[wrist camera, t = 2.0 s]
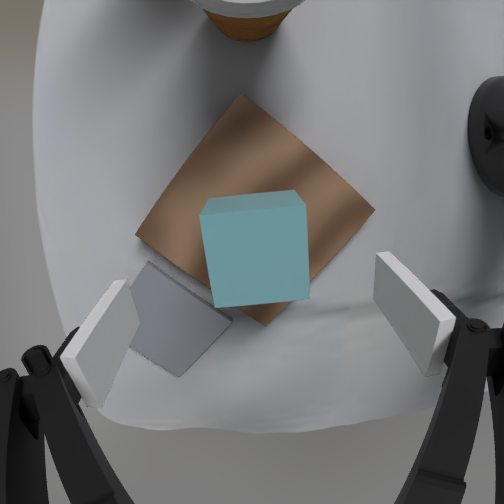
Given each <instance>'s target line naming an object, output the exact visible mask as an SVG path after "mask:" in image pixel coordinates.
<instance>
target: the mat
mask: <svg viewBox="0 0 504 504" xmlns="http://www.w3.org/2000/svg"><path fill="white" fill-rule="evenodd" d="M130 291H131V294H132V298H133V301H134V304H135V308H136V311H137V314H138V317H139V320H140V324H139V326H138V328H137V331H136V333H135V335H134V337H133V339H132V341H131V343H130V347H131V348H133V349H134V350H136V351H137V352H139V353H140V354H142V355H144V356H145V357H147V358H148V359H150V360H151V361H153V362H155V363H156V364H158V365H160V366H161V367H163V368H164V369H166V370H168V371H170V372H171V373H173V374H175V375H176V376H178V377H180V376H181V375H182V374H183V373H184V372H185V371H186V370H187V369H188V368H189V367H190V366H191V364H192V363H193V362H194V361H195V360H196V359H197V358H198V357H199V356H200V355H201V354H202V353H203V352H204V351H205V350H206V349H207V348H208V347H209V346H210V345H211V344H212V343H213V342H214V341H215V340H216V339H217V338H218V337H219V336H220V335H221V334H222V332H223V331H224V330H225V329H226V328H227V327H228V326H229V325H230V324H231V323H232V319H231V318H230V317H228V316H227V315H225V314H224V313H222V312H221V311H219V310H218V309H216V308H215V307H213V306H212V305H210V304H209V303H207V302H206V301H204V300H203V299H201V298H200V297H198V296H197V295H196V294H194V293H193V292H191V291H190V290H188V289H187V288H185V287H184V286H183V285H181V284H180V283H178V282H177V281H176V280H174V279H173V278H171V277H170V276H168V275H167V274H166V273H164V272H163V271H162V270H160V269H159V268H157V267H156V266H155V265H153V264H152V263H150V262H149V261H148V262H147V263H146V265H145V266H144V268H143V269H142V271H141V272H140V274H139V275H138V277H137V278H136V280H135V281H134V283H133V284H132V286H131V287H130Z"/></svg>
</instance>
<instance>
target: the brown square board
mask: <svg viewBox="0 0 504 504" xmlns="http://www.w3.org/2000/svg"><path fill="white" fill-rule="evenodd" d="M286 190H295V191H296V192H297V194H298V195H299V196H300V198H301V199H302V200H303V202H304V203H305V204H306V212H307V232H308V255H309V282H310V281H311V280H312V279H313V278H314V277H315V276H316V275H317V274H318V273H319V271H320V270H321V269H322V268H323V267H324V266H325V265H326V264H327V263H328V262H329V261H330V260H331V259H332V258H333V256H334V255H335V254H336V253H337V252H338V251H339V250H340V249H341V248H342V247H343V246H344V245H345V243H346V242H347V241H348V240H349V239H350V238H351V237H352V236H353V235H354V233H355V232H356V231H357V230H358V229H359V228H360V227H361V226H362V224H363V223H364V222H365V221H366V220H367V219H368V218H369V217H370V215H371V214H372V213H373V212H374V211H375V209H374V208H373V207H372V206H371V205H370V204H369V203H368V202H367V201H366V200H365V199H364V198H363V197H362V196H361V195H360V194H359V193H358V192H357V191H356V190H355V189H353V188H352V187H351V186H350V185H349V184H348V183H347V182H346V181H345V180H344V179H343V178H342V177H341V176H340V175H339V174H338V173H336V172H335V171H334V170H333V169H332V168H331V167H330V166H329V165H328V164H327V163H325V162H324V161H323V160H322V159H321V158H320V157H319V156H318V155H317V154H315V153H314V152H313V151H312V150H311V149H310V148H309V147H307V146H306V145H305V144H304V143H303V142H302V141H300V140H299V139H298V138H297V137H296V136H294V135H293V134H292V133H291V132H290V131H288V130H287V129H286V128H285V127H284V126H282V125H281V124H280V123H279V122H277V121H276V120H275V119H274V118H273V117H271V116H270V115H269V114H267V113H266V112H265V111H264V110H262V109H261V108H260V107H259V106H257V105H256V104H255V103H253V102H252V101H251V100H249V99H248V98H247V97H245V96H244V95H243V94H241V93H240V95H239V96H238V97H237V98H236V99H235V100H234V102H233V103H232V104H231V105H230V106H229V108H228V109H227V110H226V111H225V112H224V114H223V115H222V116H221V117H220V118H219V120H218V121H217V122H216V123H215V125H214V126H213V127H212V128H211V130H210V131H209V132H208V133H207V135H206V136H205V137H204V138H203V140H202V141H201V142H200V144H199V145H198V146H197V147H196V149H195V150H194V151H193V153H192V154H191V155H190V157H189V158H188V159H187V161H186V162H185V163H184V165H183V166H182V167H181V169H180V170H179V171H178V173H177V174H176V175H175V177H174V178H173V180H172V181H171V182H170V184H169V185H168V186H167V188H166V189H165V191H164V192H163V194H162V195H161V196H160V198H159V199H158V201H157V202H156V204H155V205H154V207H153V208H152V209H151V211H150V212H149V214H148V215H147V217H146V218H145V220H144V221H143V223H142V224H141V226H140V227H139V229H138V230H137V232H136V233H135V235H136V236H137V237H139V238H140V239H141V240H143V241H144V242H145V243H147V244H148V245H149V246H151V247H152V248H153V249H155V250H156V251H157V252H159V253H160V254H162V255H163V256H164V257H166V258H167V259H168V260H170V261H171V262H173V263H174V264H175V265H177V266H178V267H179V268H181V269H182V270H184V271H185V272H186V273H188V274H189V275H191V276H192V277H193V278H195V279H196V280H198V281H199V282H201V283H202V284H203V285H205V286H206V287H208V288H209V289H211V285H210V279H209V274H208V268H207V262H206V256H205V250H204V244H203V238H202V231H201V225H200V218H199V215H200V213H201V212H202V210H203V208H204V206H205V205H206V203H207V201H208V199H209V198H217V197H226V196H235V195H244V194H254V193H264V192H275V191H286ZM290 302H291V301H286V302H276V303H266V304H256V305H245V306H235V307H237V308H238V309H240V310H241V311H243V312H244V313H246V314H247V315H249V316H250V317H252V318H253V319H255V320H256V321H258V322H259V323H261V324H262V325H264V326H265V327H266V326H267V325H268V324H269V323H270V322H271V321H272V320H273V319H274V318H275V317H276V316H277V315H278V314H279V313H280V312H281V311H282V310H283V309H284V308H285V307H286V306H287V305H288V304H289V303H290Z"/></svg>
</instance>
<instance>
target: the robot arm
mask: <svg viewBox="0 0 504 504" xmlns="http://www.w3.org/2000/svg"><path fill="white" fill-rule="evenodd" d="M469 142H470V148H471V153H472V157H473V160H474V163H475V166H476V168H477V171H478V173H479V175H480V176H481V178H482V180H483V181H484V183H485V184H486V185H487V186H488V187H489V188H490V189H491V190H492V191H493V192H495V193H496V194H498V195H501V196H503V197H504V76H497V77H492V78H489V79H487V80H486V81H485V82H483V83H482V84H481V85H480V87H479V88H478V90H477V91H476V93H475V95H474V98H473V100H472V104H471V108H470V113H469ZM373 299H374V301H375V302H376V304H377V305H378V307H379V308H380V309H381V311H382V312H383V314H384V315H385V317H386V318H387V320H388V321H389V323H390V324H391V326H392V327H393V329H394V330H395V332H396V333H397V335H398V336H399V338H400V339H401V341H402V342H403V344H404V345H405V347H406V348H407V350H408V351H409V353H410V354H411V356H412V357H413V359H414V361H415V362H416V364H417V365H418V367H419V368H420V370H421V372H422V373H423V375H424V376H425V377H428V376H431V375H435V374H438V373H440V372H441V369H442V366H443V363H444V362H445V364H446V365H447V366H448V370H447V373H446V376H445V378H444V381H443V384H442V390H441V393H440V396H439V399H438V402H437V405H436V409H435V411H434V414H433V417H432V420H431V423H430V425H429V428H428V431H427V433H426V436H425V439H424V441H423V443H422V446H421V448H420V451H419V453H418V455H417V458H416V460H415V462H414V464H413V467H412V469H411V471H410V473H409V475H408V477H407V480H406V482H405V484H404V486H403V488H402V490H401V492H400V494H399V495H398V497H397V499H396V501H395V503H394V504H461V501H462V499H463V496H464V493H465V489H466V482H464V476H465V472H466V469H467V466H468V462H469V459H470V455H471V451H472V448H473V443H474V440H475V435H476V431H477V427H478V421H479V417H480V411H481V407H482V401H483V395H484V388H485V381H486V377H487V382H488V388H489V395H490V402H491V410H492V418H493V429H494V441H495V460H496V461H495V463H496V492H495V504H504V324H503V327H502V328H493V329H490V328H489V326H488V325H487V323H485V322H483V321H482V320H479V319H472V318H471V319H468V318H467V317H466V316H465V315H464V314H463V313H462V312H461V311H460V310H459V309H458V308H457V307H456V306H455V305H454V304H453V303H452V302H451V301H449V299H448V298H447V297H446V296H445V295H444V294H443V293H441V292H439V291H437V290H435V289H434V290H429V289H428V288H427V287H426V286H425V285H424V284H423V283H422V282H421V281H420V280H419V279H418V278H416V277H415V276H414V275H413V274H412V273H411V272H410V271H409V270H408V269H407V268H406V267H405V266H404V265H403V264H402V263H401V262H400V261H399V260H398V259H396V258H395V257H394V256H393V255H392V254H391V253H390V252H389V251H388V252H380V253H376V263H375V279H374V293H373ZM139 324H140V320H139V317H138V314H137V311H136V308H135V304H134V301H133V298H132V294H131V291H130V287H129V284H128V280H127V279H124V280H115V281H114V282H113V283H112V285H111V286H110V287H109V289H108V290H107V291H106V293H105V294H104V295H103V297H102V298H101V299H100V301H99V302H98V303H97V305H96V306H95V307H94V309H93V310H92V311H91V313H90V314H89V316H88V317H87V318H86V320H85V321H84V323H83V324H82V325H81V327H77V328H76V329H74V330H73V331H72V332H71V333H70V334H69V335H68V337H67V338H66V339H65V340H66V341H64V342H63V344H62V346H61V347H60V348H59V349H58V351H57V352H56V354H55V355H54V357H53V358H52V356H51V354H50V352H49V350H48V348H47V347H46V346H44V345H37V346H34V347H32V348H30V349H28V350H27V351H26V352H25V353H24V354H23V356H22V359H21V361H22V362H23V364H24V366H25V368H26V370H27V372H28V373H29V375H28V376H22V377H20V376H19V375H18V373H17V371H16V370H15V369H13V368H7V369H5V370H2V371H0V504H49V500H48V491H47V481H46V467H45V446H44V433H45V436H46V440H47V443H48V446H49V449H50V452H51V455H52V458H53V460H54V463H55V466H56V469H57V471H58V474H59V477H60V479H61V482H62V484H63V486H64V489H65V491H66V494H67V496H68V498H69V500H70V502H71V504H134V502H133V501H132V499H131V498H130V496H129V495H128V493H127V492H126V490H125V489H124V487H123V485H122V484H121V482H120V481H119V479H118V477H117V476H116V474H115V473H114V471H113V469H112V467H111V466H110V464H109V462H108V460H107V459H106V457H105V455H104V453H103V451H102V450H101V448H100V446H99V444H98V442H97V440H96V438H95V436H94V434H93V432H92V430H91V428H90V426H89V424H88V422H87V420H86V418H85V416H84V414H83V412H82V409H81V408H80V406H79V404H78V403H79V401H80V399H81V398H82V399H83V401H84V403H85V404H86V406H87V407H92V408H102V407H103V405H104V402H105V400H106V398H107V395H108V393H109V391H110V388H111V386H112V384H113V381H114V379H115V377H116V374H117V372H118V370H119V368H120V365H121V363H122V361H123V359H124V357H125V354H126V352H127V350H128V348H129V346H130V343H131V341H132V339H133V337H134V335H135V333H136V331H137V328H138V326H139Z"/></svg>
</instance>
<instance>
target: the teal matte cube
mask: <svg viewBox="0 0 504 504" xmlns="http://www.w3.org/2000/svg"><path fill="white" fill-rule="evenodd" d="M199 218H200V225H201V231H202V238H203V244H204V250H205V256H206V262H207V268H208V274H209V279H210V285H211V291H212V296H213V302H214V307H215V308H221V307H233V306H245V305H256V304H266V303H276V302H286V301H295V300H305V299H310V287H309V255H308V232H307V212H306V204H305V203H304V202H303V200H302V199H301V198H300V196H299V195H298V194H297V192H296V191H295V190H286V191H275V192H264V193H254V194H244V195H235V196H226V197H217V198H209V199H208V201H207V203H206V205H205V206H204V208H203V210H202V212H201V213H200V215H199Z"/></svg>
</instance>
